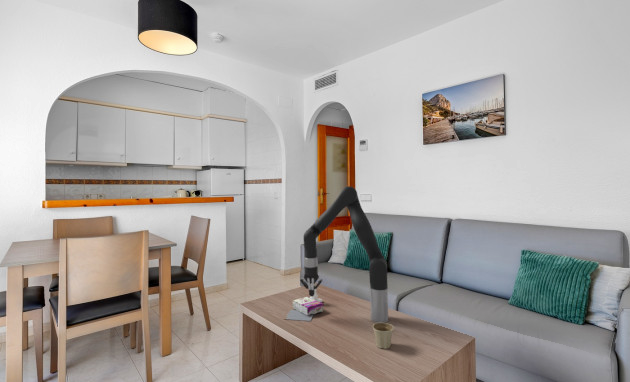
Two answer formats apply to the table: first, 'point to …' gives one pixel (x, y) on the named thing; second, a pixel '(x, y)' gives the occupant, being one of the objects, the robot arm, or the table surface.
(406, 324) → the table surface
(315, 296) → the white creature statuette
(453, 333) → the table surface
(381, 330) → the flower pot
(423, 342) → the table surface
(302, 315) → the mat
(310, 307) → the candy bar box
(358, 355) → the table surface
